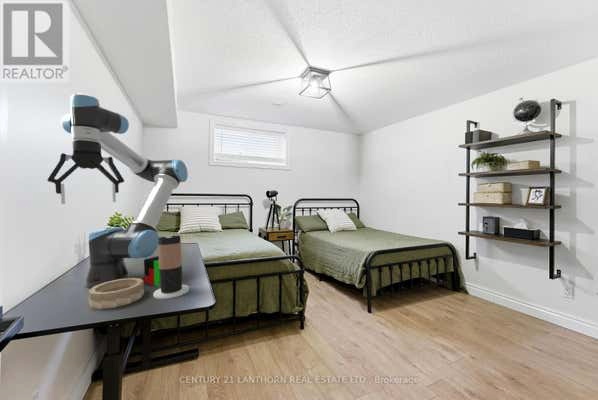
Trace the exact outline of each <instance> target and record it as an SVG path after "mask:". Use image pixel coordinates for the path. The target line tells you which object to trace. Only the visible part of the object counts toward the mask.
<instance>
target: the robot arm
mask: <svg viewBox="0 0 598 400" xmlns="http://www.w3.org/2000/svg"><path fill="white" fill-rule="evenodd" d="M100 105H101V104H100V101H99V99H98V98H97V97H95V96H92V95H89V94H84V93H74V94H72V95H71V96H70V106H69V108H70V113H69V114H65V115H63V116H62V117H61V120H60V123H61V126H62V127H61V128H63V129H64V131H65V132H67V133H69V134H71V139H72V140H73V141H72V142H71V143H72V154H67V153H60V156H59V161H58V163H57V164H56V165H55V167H54V169H53V170H52V172H51V173H50V174H49V177H48V178H47V182H48V183H52V184H54V185H55V194H58V195H59V194H60V204H61V205H65V204H66V198H65V197H66V193H65V183H62V182H63V181H64V180H66V179H67V178H68V177H69V176H70V175H72V173H73V172H75V171H76V170H77V169H78V168H80V169H84V170H85V169H90V170H93V169H94V170H95V169H97V170H98V171H100V172H101V174H102V175H104V176H105V177H106V178H107V179H108V181H110V182H111V183H112V184H110V196H111V198H110V199H111V203H116V200H117V198H116V194H118V193H119V192H120V191H119V184H122V183H124V182H125V179H124V178H123V176H122V174H121V173H120V171H119V169H118V168H117V166H116V165H115V163H114V159H115V160H117V161H119V162H120V163H122V164H123V165H125V166H126V167H128V169H129V171H130V172H131V173H133V174H134V175H136V176H138V177H140V178H142V179H143V180H146V181H148V182H151V183H154V184H153V186H152V188H151V190H150V192H149V193H148V195H147V197H146V199H145V201H144V203H143V205H142V206H141V208H140V211H139V213H138V215H137V216H136V218H135V221H130V222H129V223H128V225H127V227H126V228H125V229H124V228H123V227H122V226H117V227H111V228H104V229H98V230H93V231H91V232H89V234H88V250H89V251H88V252H89V269H88V273H87V275H86V278H85V281H84V282H85V287H86V288H89V289H91V288H93V287H94V286H96V285H99V284H102V283H105V282H109V281H113V280H118V279H125V278H130V271H129V269H128V268H127V267H128V266H127V265H126V263H125V259H135V260H136V259H147V258H148V257H150V256H152V255H153V254H154V253H155V252H156V251H157V249H158V248H159V244H158V238H159V237H160V236H159V234H158V229H157V225H158V223H159V222H160V220H161V217H162V215H163V212H164V210H165V208H166V207H167V203H168V201H169V199H170V197H171V195H172V193H173V190H176V189H178V187H179V186H180V183H185V182H187V180H188V177H189V176H188V175H189V172H188V168H187V166H186V164H185V162H184V161H182V160H181V159H170V160H169V159H168V160H167V159H165V160H151V159H148V158H146V157H145V156H141V155H139V154H138V153H137V152H136V151H134V150H133V149H131V148H130V147H129V146H128V145H127V144H125V143H124V142H122V141H121V140H120V139H118V138H117V137H116V136H115V135H114V134H118V135H123V134H125V133H126V132H128V130H129V127H130V123H129V120H128V119H127V118H126V117H125V116H124V115H122V114H119V112H114V111H112V110H109V109H106V108H104V107H102V106H100ZM102 150H103V151H104V152H105V153H107V154H108V155H110V156H109V157H106V156H105V157H103V156H102ZM113 158H114V159H113ZM69 159H71V160H72V161H73V162H74V164H73V165H72V166H70V168H68V170H66V171H65V172H64V173H63V174H61V176H59V177H58V178H57V179H56V176H57V175H58V173H59V172H60V170H61V169H62V168H63V166H64V164H65V162H68V161H69ZM103 162H104V163H105V164H107V165H108V166H109V168H110V170H111V171H112V173H113V174H114V176H115V177H116V178H115V177H114V176H113V175H112V174H111V173H110V172H109V171H108V170H107V168H105V167H104V166H103V165H102V163H103Z"/></svg>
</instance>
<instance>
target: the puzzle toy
mask: <svg viewBox="0 0 598 400" xmlns="http://www.w3.org/2000/svg"><path fill="white" fill-rule="evenodd" d="M143 268H144V270H143V271H144V284H147V285H148V284H149V285H153V286H157V287H161V286H160V272H159V255H158V256H154V257H153V256H152V257H149V258H143Z"/></svg>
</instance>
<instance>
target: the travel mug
mask: <svg viewBox="0 0 598 400" xmlns="http://www.w3.org/2000/svg"><path fill="white" fill-rule="evenodd" d="M181 243H182V242H181V235H171V236H168V237H165V236H159V238H158V256H159V272H160V286H159V287H160V288H161V292H162V293H171V292H176V291H179V290H181V289H182V285H183V261H182V244H181Z"/></svg>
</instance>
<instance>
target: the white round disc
mask: <svg viewBox="0 0 598 400" xmlns="http://www.w3.org/2000/svg"><path fill="white" fill-rule="evenodd" d="M189 291H190V286H189V285H187V284H182V289H181V290H179V291H176V292H171V293H162V292H161V287H160V288H158V289H157V290H155V291H154V292H153V293H152V294H153V298H155V299H157V300H169V298H170V299H175V298H178V297H181V296H184V295H185V294H186V293H187V294H188V293H189ZM183 294H184V295H183ZM174 297H175V298H174Z"/></svg>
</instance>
